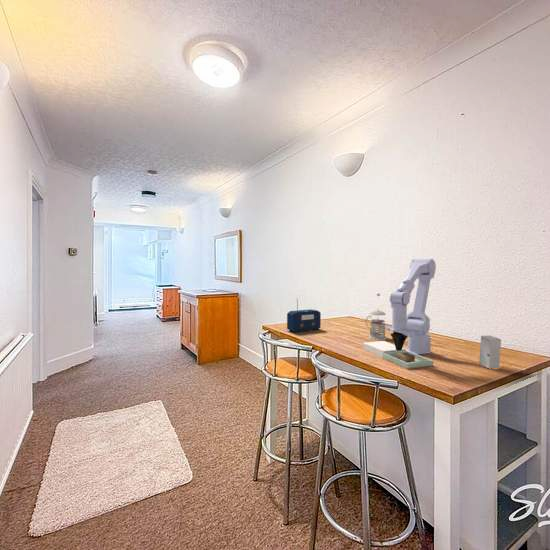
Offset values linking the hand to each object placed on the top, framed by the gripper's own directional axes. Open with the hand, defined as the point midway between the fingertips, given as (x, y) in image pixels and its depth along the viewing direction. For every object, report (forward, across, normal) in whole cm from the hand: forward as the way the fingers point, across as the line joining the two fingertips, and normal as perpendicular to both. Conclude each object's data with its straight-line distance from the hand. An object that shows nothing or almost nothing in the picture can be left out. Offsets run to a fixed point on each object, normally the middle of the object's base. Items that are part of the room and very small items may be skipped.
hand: (398, 350), depth 131 cm
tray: (+4, +5, 0) cm, 6 cm away
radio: (+4, -66, -16) cm, 68 cm away
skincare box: (+4, +20, +27) cm, 34 cm away
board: (+4, -10, 0) cm, 11 cm away
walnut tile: (+2, +4, 0) cm, 5 cm away
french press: (+4, -36, +15) cm, 39 cm away
